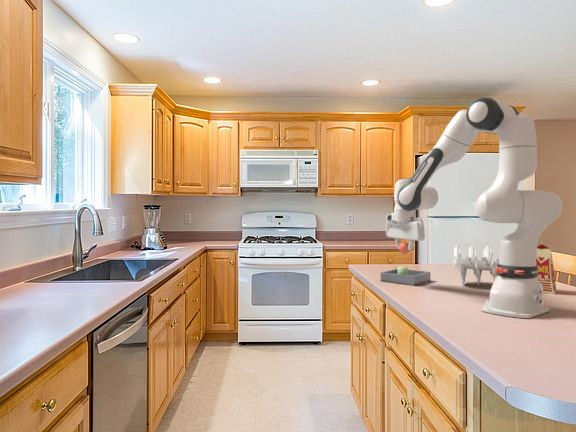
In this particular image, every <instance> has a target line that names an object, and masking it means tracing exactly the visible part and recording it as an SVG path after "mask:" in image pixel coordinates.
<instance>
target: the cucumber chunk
mask: <svg viewBox="0 0 576 432" xmlns="http://www.w3.org/2000/svg"><path fill="white" fill-rule="evenodd" d="M397 269H398V272H397V274H401V275H407V274H408V270H409V269H408V267H407V266H397Z"/></svg>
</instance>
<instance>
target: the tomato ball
mask: <svg viewBox="0 0 576 432" xmlns="http://www.w3.org/2000/svg"><path fill="white" fill-rule="evenodd" d="M408 245H409V242H408V243H407V242H401V244H400V245H399V249H398V250H399V253H401V254H404V255H406V254H409V253H410V251H409V250H407V246H408Z"/></svg>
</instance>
